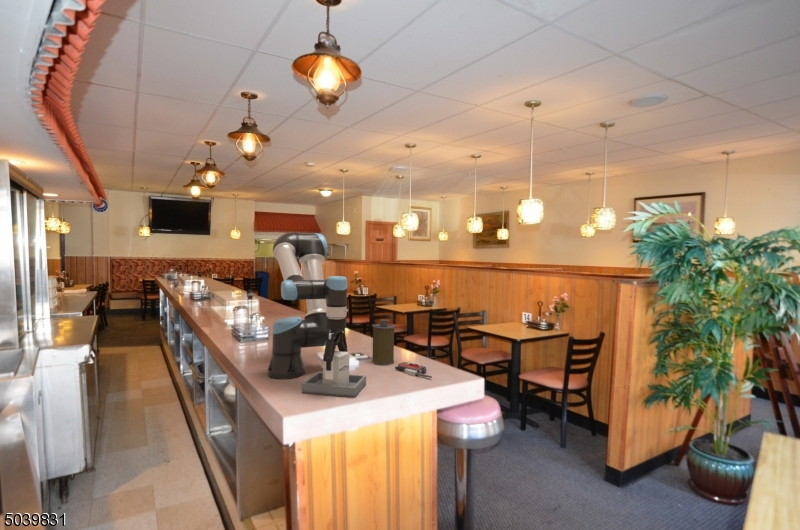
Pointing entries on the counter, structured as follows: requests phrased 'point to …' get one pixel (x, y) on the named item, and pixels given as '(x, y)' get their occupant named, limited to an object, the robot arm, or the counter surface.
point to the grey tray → (334, 386)
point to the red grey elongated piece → (412, 369)
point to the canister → (383, 343)
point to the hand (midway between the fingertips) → (335, 373)
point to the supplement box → (338, 369)
